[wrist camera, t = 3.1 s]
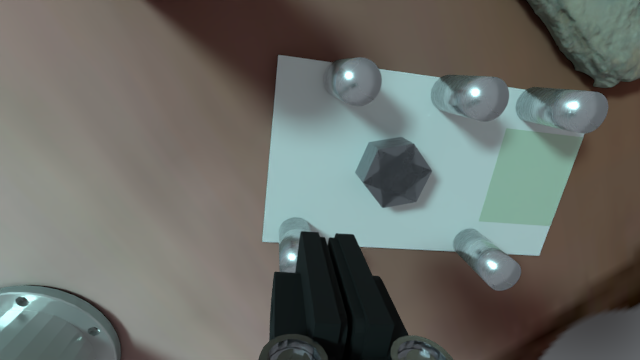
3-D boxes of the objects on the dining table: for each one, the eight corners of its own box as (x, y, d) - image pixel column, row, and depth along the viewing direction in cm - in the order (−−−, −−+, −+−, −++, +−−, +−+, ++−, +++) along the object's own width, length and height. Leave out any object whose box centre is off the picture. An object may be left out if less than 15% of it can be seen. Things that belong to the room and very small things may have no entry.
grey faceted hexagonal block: (419, 187, 27) (432, 199, 25) (357, 198, 26) (365, 211, 24) (417, 134, 25) (431, 140, 23) (352, 144, 25) (360, 152, 23)
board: (531, 250, 32) (539, 255, 31) (262, 235, 27) (262, 241, 27) (585, 98, 27) (597, 99, 26) (278, 55, 23) (278, 54, 22)
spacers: (496, 256, 30) (538, 291, 25) (277, 245, 27) (277, 283, 22) (551, 89, 26) (614, 94, 21) (296, 52, 22) (302, 49, 18)
